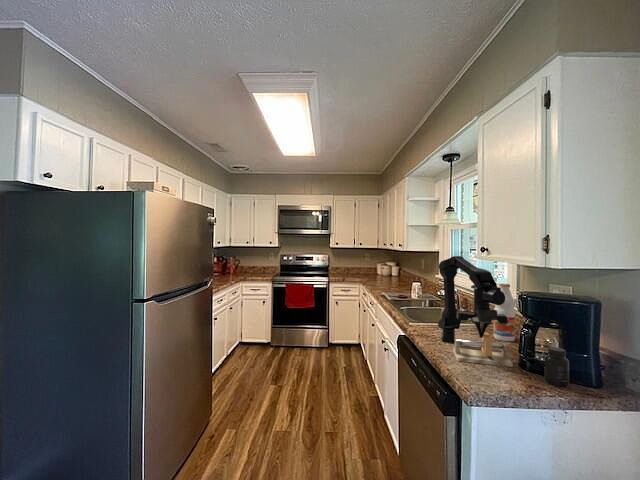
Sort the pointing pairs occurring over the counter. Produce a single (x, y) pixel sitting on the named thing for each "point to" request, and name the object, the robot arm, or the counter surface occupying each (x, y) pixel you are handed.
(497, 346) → the pipe
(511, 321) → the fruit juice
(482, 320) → the robot arm
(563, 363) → the supplement bottle
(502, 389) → the counter surface
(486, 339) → the slotted orange block
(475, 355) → the stand
